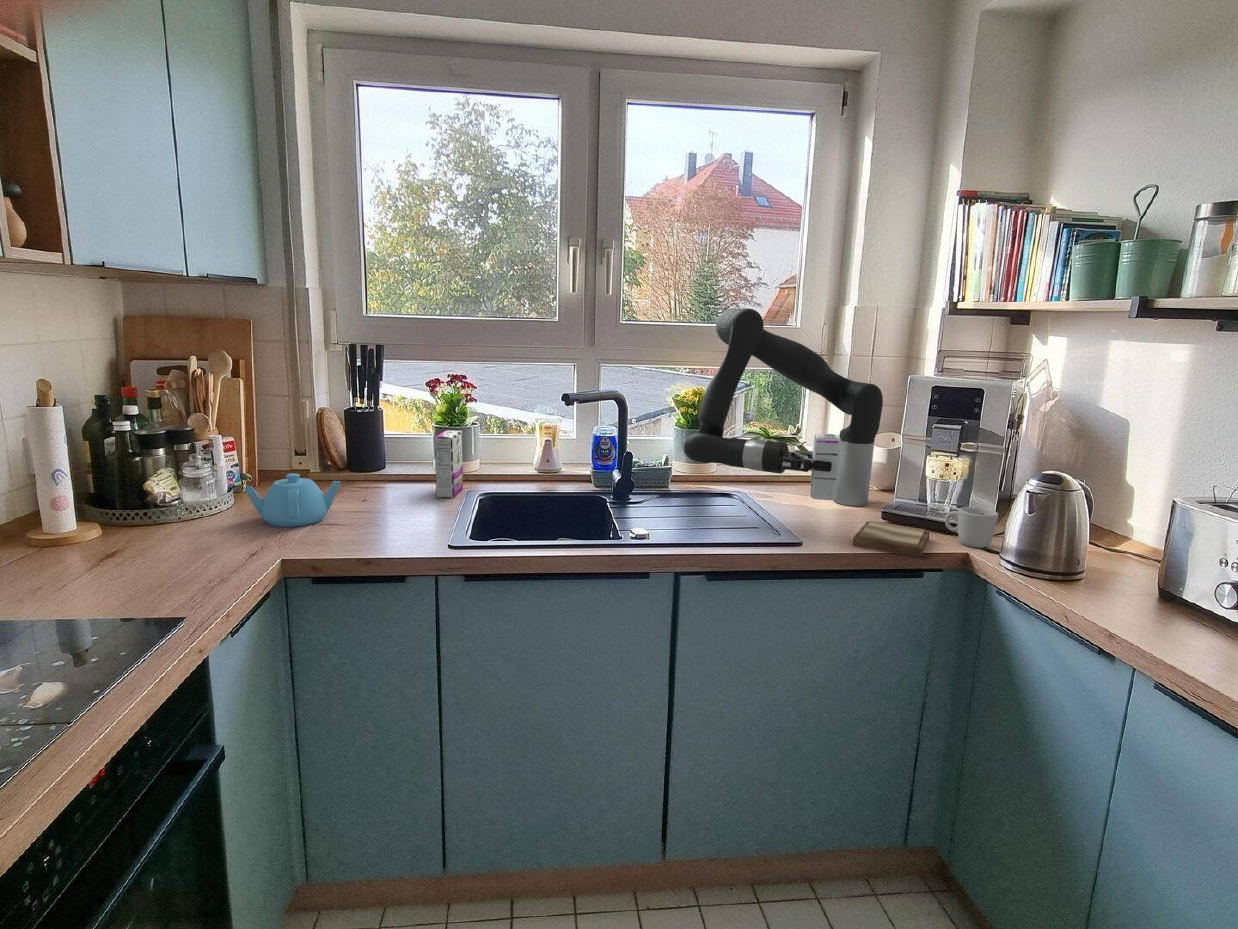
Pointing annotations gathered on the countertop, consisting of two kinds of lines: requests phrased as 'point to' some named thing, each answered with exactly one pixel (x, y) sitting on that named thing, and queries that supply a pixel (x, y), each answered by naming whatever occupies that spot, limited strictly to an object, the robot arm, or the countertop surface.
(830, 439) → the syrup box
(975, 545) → the cup
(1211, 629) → the countertop surface
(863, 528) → the riser
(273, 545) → the countertop surface
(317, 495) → the teapot
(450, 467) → the candy bar box
